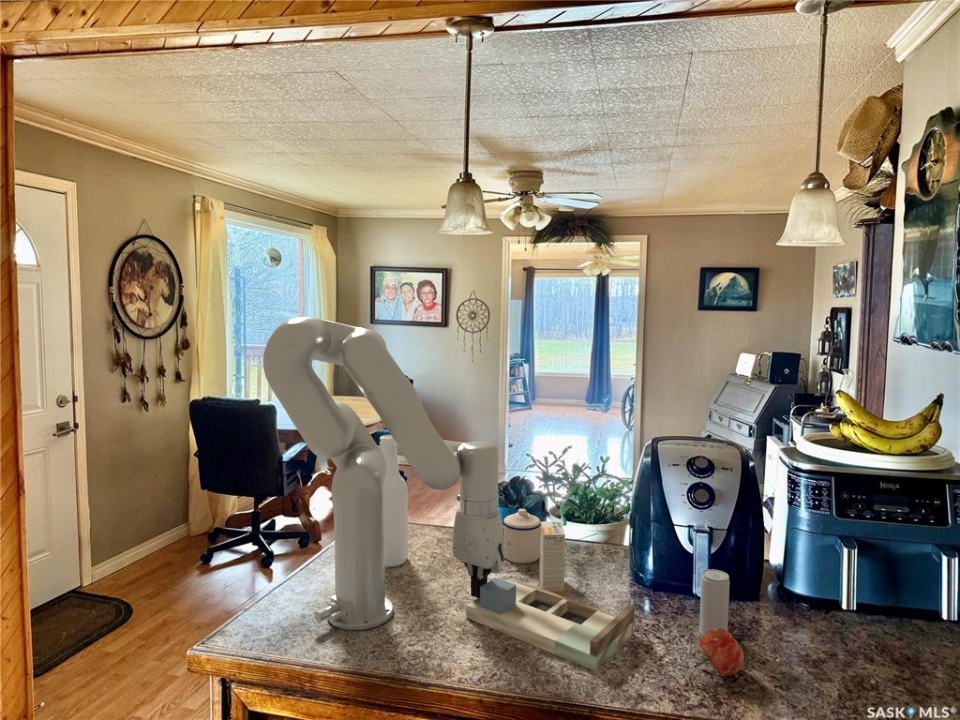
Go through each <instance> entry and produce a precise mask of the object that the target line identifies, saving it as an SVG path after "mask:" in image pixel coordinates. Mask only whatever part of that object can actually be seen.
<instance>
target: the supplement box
mask: <svg viewBox="0 0 960 720" xmlns="http://www.w3.org/2000/svg"><path fill="white" fill-rule="evenodd" d="M540 522H541V525H540V556H539V582H540V587H541V589H543V590H546V591H549V592H552V593H555V594H558V595H564V594H565V593H564V592H565V558H566V557H565V554H566V534H565V530H564V527H563V525H562V522H561V521H540Z"/></svg>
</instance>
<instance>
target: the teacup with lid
mask: <svg viewBox="0 0 960 720" xmlns="http://www.w3.org/2000/svg"><path fill="white" fill-rule="evenodd" d="M541 522H542V521H541V520H540V518H539V517H537V516H536V515H533V514H530V513H529V512H527V510H526V509H525V508H519V509H518V510H517V512H515V513H512V514H509V515H506V517H504V519H503V520H502V525H503V533H504V558H505V559H506V560H508V561H509V562H511V563H515V564H530V563H531V564H532V563H534V562H536V561H538V559H540V527H541Z"/></svg>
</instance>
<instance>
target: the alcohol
mask: <svg viewBox="0 0 960 720" xmlns="http://www.w3.org/2000/svg"><path fill="white" fill-rule="evenodd" d="M379 445H380V447H379V449H380V451H381V452H382V454H383V456H384V458H385V461H386V466H387V471H386V477H385V482H384V493H383V502H384V553H385V568H395V567H398V566H401V565H403V564H404V563H406V561H407V559H408V557H409V544H408V543H409V536H408V535H409V534H408V533H409V529H408V528H409V525H408V523H409V521H408V520H409V519H408V518H409V517H408V516H409V515H408V514H409V511H408V509H409V507H408V500H409V497H408V496H409V495H408V494H409V493H408V490H409V489H408V485H407V482H406V480H405V479H404V478H403V476H402V475H401V474H400V471H399V459H398V448H397V447H398V446H397V444H396V443H395V441H394V439H393V438H392V436H391V434H385V435H384V434H383V435H382V436H380V437H379Z"/></svg>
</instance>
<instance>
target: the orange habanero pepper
mask: <svg viewBox="0 0 960 720" xmlns="http://www.w3.org/2000/svg"><path fill="white" fill-rule="evenodd" d="M699 639H700V640H699V642H698V643H699V648H700V650H701V651H702V652H703V654H704V655H705V656H706V658H705V659H704V660H702V661H701V662H698V663H696V664H695V665H693V668H697V667H698V666H699V667H700V666H701V665H703V664H705V663H707V662H708V661H709V664H710V665H711V667H712V668H713V669H714V670H715V671H716V672H717V673H718V675H719V676H721V677H724V678H725V677H731V676H733V675H736V674H737V673H738V672H739V671H740V670H741V668H743V665H744V659H745V653H744V651H743V648H742V647H741V644H742V642H743V641H746V640H747V637H746V636H744V635H742V636H740V637H736V636H733V634H732V633H730V632H729V630H727V631H726V630H724V629H720V628H715V629H711V630H709V631H707V632H706V633H705V634H704V635H703V636H701V638H699Z"/></svg>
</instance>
